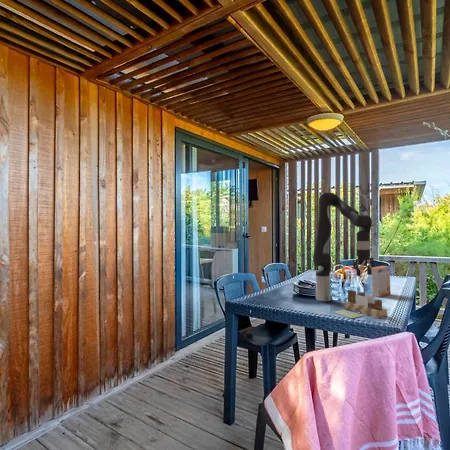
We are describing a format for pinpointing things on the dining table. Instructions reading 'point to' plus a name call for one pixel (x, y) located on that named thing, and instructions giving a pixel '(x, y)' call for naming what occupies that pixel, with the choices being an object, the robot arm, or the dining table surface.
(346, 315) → the mat
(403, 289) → the dining table surface
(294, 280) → the dining table surface
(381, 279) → the cracker box
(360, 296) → the beige rectangular block
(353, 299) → the plane body
